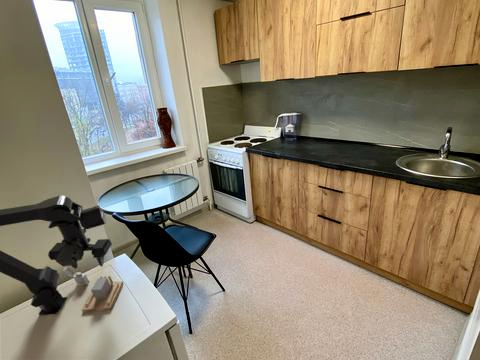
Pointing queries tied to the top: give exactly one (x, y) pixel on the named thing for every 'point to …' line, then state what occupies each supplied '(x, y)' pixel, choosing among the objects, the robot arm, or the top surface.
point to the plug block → (101, 288)
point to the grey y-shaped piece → (76, 276)
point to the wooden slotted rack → (103, 303)
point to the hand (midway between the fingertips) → (89, 266)
